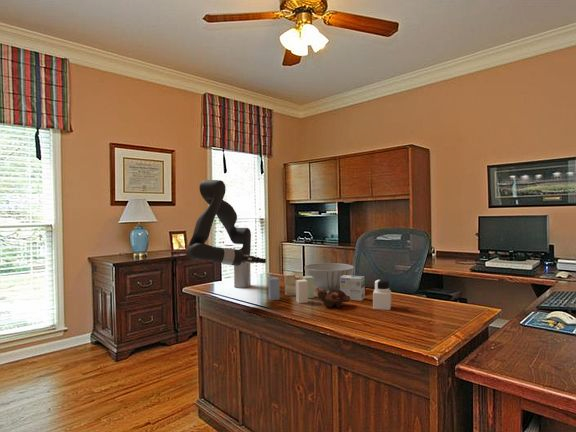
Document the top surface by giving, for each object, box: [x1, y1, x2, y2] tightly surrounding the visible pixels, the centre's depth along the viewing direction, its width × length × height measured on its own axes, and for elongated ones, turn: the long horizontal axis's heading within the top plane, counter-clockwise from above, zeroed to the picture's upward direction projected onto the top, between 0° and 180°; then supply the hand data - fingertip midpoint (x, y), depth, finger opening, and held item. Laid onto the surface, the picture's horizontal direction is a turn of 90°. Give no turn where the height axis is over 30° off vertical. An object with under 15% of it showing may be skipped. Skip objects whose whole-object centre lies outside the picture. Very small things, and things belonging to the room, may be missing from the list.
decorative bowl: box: [304, 262, 355, 291], centre depth 201 cm, size 27×27×12 cm
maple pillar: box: [284, 273, 296, 297], centre depth 189 cm, size 4×4×10 cm
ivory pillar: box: [295, 279, 309, 304], centre depth 174 cm, size 4×4×10 cm
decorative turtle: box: [316, 289, 351, 309], centre depth 165 cm, size 10×15×8 cm, turn 108°
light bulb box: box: [340, 275, 366, 302], centre depth 179 cm, size 11×7×11 cm, turn 65°
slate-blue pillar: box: [267, 276, 280, 301], centre depth 180 cm, size 4×4×10 cm
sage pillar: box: [302, 275, 315, 299], centre depth 183 cm, size 4×4×10 cm
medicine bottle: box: [372, 279, 392, 311], centre depth 162 cm, size 7×7×12 cm
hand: (261, 261), depth 180 cm, fingers open, 8 cm apart
